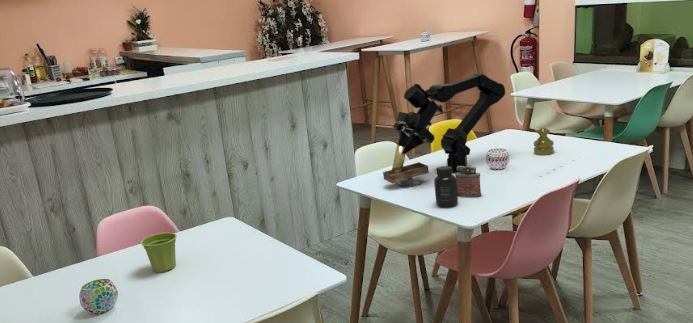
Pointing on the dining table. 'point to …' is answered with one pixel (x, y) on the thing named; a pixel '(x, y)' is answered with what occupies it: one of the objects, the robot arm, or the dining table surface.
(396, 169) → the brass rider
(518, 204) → the dining table surface
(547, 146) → the olive tiered piece
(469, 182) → the lighter
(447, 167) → the supplement bottle
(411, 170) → the brown wooden tray
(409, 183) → the stand
